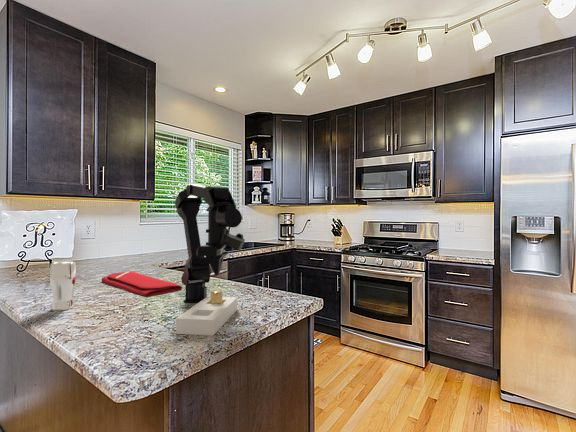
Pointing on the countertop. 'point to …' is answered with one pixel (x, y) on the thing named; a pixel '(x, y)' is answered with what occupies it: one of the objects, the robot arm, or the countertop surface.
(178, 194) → the robot arm
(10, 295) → the countertop surface
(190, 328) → the block
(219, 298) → the cylinder
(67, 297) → the white carton
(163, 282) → the dish drying mat
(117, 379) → the countertop surface
